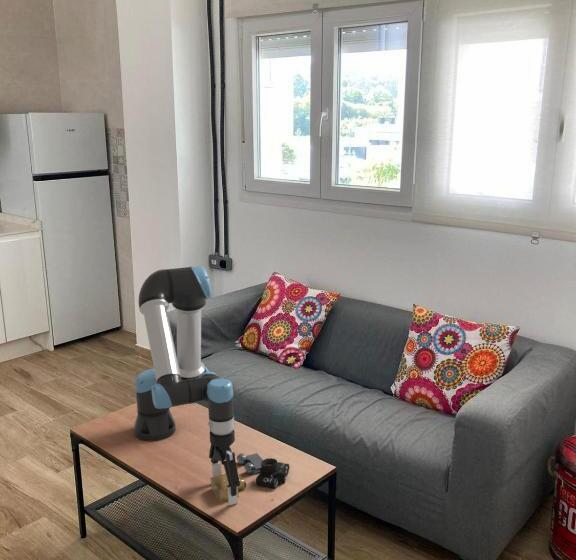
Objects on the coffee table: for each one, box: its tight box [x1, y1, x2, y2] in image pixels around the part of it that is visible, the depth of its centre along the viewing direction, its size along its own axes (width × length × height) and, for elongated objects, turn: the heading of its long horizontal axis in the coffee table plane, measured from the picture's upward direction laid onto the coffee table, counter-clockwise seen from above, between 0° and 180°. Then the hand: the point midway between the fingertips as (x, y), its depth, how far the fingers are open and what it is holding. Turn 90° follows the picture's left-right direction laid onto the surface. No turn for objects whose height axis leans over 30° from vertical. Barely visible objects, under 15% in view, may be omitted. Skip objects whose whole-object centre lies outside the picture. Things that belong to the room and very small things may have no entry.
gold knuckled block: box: [210, 473, 247, 503], centre depth 199 cm, size 10×8×4 cm
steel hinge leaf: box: [236, 452, 264, 476], centre depth 213 cm, size 8×9×3 cm
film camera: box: [255, 457, 290, 489], centre depth 206 cm, size 13×8×10 cm
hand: (224, 492), depth 199 cm, fingers open, 13 cm apart
